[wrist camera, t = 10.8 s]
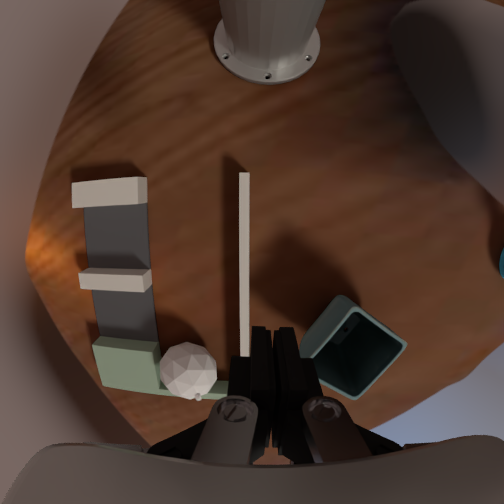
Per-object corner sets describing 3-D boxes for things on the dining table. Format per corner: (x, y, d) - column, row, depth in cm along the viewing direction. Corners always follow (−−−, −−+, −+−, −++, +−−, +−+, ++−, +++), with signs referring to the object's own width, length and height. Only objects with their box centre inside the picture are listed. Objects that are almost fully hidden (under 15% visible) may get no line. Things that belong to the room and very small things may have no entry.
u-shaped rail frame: (84, 182, 33) (71, 183, 30) (249, 174, 33) (249, 172, 30) (110, 374, 38) (103, 385, 36) (249, 386, 38) (248, 400, 35)
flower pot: (287, 331, 37) (296, 371, 28) (331, 276, 35) (355, 304, 26) (337, 361, 38) (355, 402, 29) (379, 312, 36) (409, 344, 27)
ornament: (209, 326, 36) (233, 379, 31) (200, 358, 40) (221, 406, 35) (154, 333, 33) (172, 391, 27) (153, 365, 37) (169, 417, 31)
